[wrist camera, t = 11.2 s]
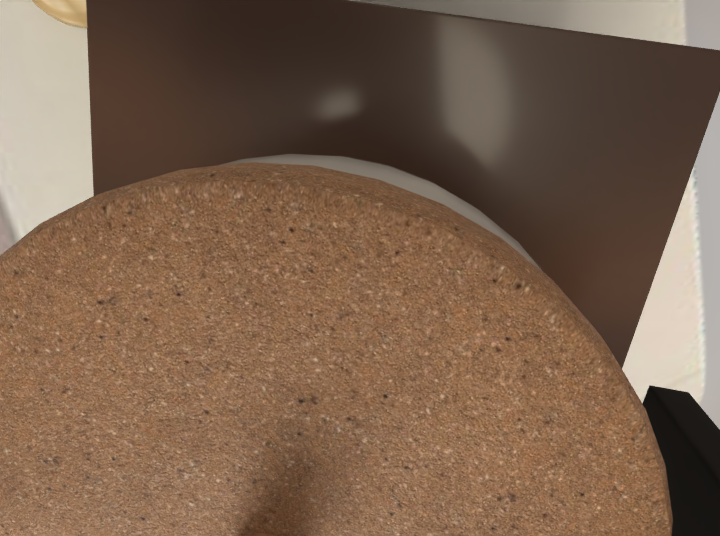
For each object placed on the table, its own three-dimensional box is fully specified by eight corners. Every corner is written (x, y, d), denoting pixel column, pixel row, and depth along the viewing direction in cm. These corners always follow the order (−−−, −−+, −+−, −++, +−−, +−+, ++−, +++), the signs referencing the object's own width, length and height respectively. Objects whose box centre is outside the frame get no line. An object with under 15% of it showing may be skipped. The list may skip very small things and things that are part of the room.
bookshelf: (282, 34, 29) (83, -36, 12) (553, 72, 28) (734, 51, 11) (262, 294, 35) (104, 491, 18) (488, 335, 34) (546, 584, 17)
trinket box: (632, 238, 13) (1061, 563, 4) (433, 529, 17) (436, 1023, 8) (237, 48, 13) (-201, -37, 4) (125, 387, 16) (-228, 735, 8)
